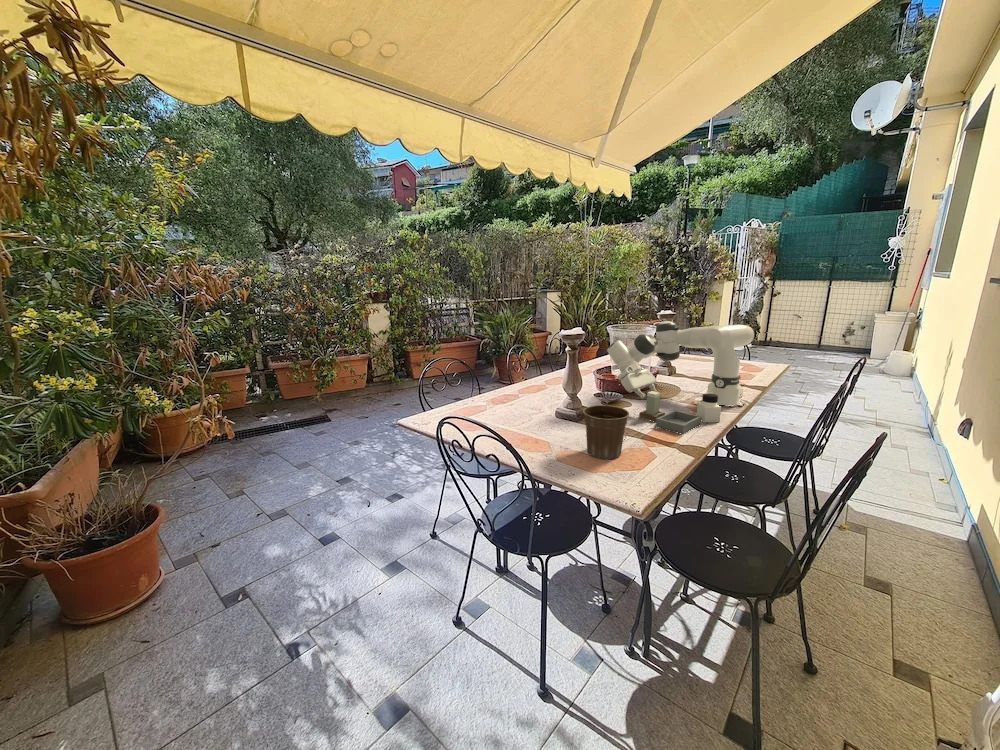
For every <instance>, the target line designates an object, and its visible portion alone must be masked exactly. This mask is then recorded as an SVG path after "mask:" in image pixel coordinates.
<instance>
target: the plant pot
mask: <svg viewBox="0 0 1000 750" xmlns="http://www.w3.org/2000/svg"><path fill="white" fill-rule="evenodd" d="M582 414H584V423H585V432H586V451H587V453H588V455H590V456H591V457H593V458H597V459H601V460H605V459H609V460H614V459H617V458H619V457H620V456H621V454H622V448H623V441H624V437H625V430H626V429H625V428H626V426H627V423H628V422H627V421H628V418H629V416H630V412H629V411H628V410H627V409H625V408H623V407H619V406H614V405H605V404H601V405H599V404H597V405H590V406H587V407H584V408H583V409H582Z"/></svg>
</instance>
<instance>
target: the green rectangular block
mask: <svg viewBox="0 0 1000 750" xmlns="http://www.w3.org/2000/svg"><path fill="white" fill-rule="evenodd" d="M660 400H661V392H658V391H657V392H654V391H651V390H650V391H647V393H646V405H645V410H646V414H650V415H654V416H656V414H658V413H659V411H660Z"/></svg>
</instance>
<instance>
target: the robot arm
mask: <svg viewBox="0 0 1000 750" xmlns="http://www.w3.org/2000/svg"><path fill="white" fill-rule="evenodd" d="M680 328H681V326H680V325H677V323H675V322H674V321H669V320H665V321H662V322H659V323H658V324H656V326H655V333H656V334H655V336H656V337H655V336H654V335H652V334H648V335H647V334H639V335H638V336H636V337H635V339H634V340H633V339H632V341H631V342H630V343H628V344H627V345H625V344H624V343H623V342H622V340H620V339H618V340H616V341H614V342H612V343H611V344H610V345H608V347H607V353H608V355H609V356H610V358H611V360H612V361H613V364H615V366H617V367H618V369H619V372H620V373H619V375H617V376H616V378H617V379H618V380H619V381H620V383H621V384H622V387H624V389H625V391H627V392H628V393H633V392H634V393H635V394H636V395H638V396H639V397H640V398H641V399H644V398H647V394H646V393H645V392H642V391H641V389H644V388H649V389H650V392H651V391H654V392H658V390H657V389H656V387H655V384H656V382H657V378H656V377H655V376H654V374H653V373H652V371H650V370H649V369H647V368H644V367H643V366H641V364H640V362H641V361H642V360H643V359H647V358H651V357H652V356H653V355H654V354H655V356H656V357H658V358H659V359H660V360H662V361H664V362H673V361H676V360H678V359H679V358H680V353H681V351H680V346H681V347H684V348H691V349H711V352H712V354H713V360H714V361H713V371H712V374H711V381H710V382H709V383H708V384H707V388H706V389H707V391H706V393H714V394H716V395H718V402H717V404H718V405H741V404H739V401H740V400H741V398H742V397H744V388H743V386H741V384H740V380H741V377H742V375H739V374H740V373H739V372H740V365H741V359H739V358H738V357H737V356H736V353H735V348H740V347H744V346H747V345H749V344H751V343H752V342H753V340H754V338H755V331H754V330H753V328H752V327H751V326H749V325H745V324H728V325H727V324H725V325H714V326H713V325H710V326H699V327H698V326H696V327H690V328H685V329H680Z"/></svg>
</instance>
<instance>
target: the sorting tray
mask: <svg viewBox="0 0 1000 750" xmlns="http://www.w3.org/2000/svg"><path fill="white" fill-rule="evenodd" d="M701 419H702V417H701V416H697V414H692V413H688V412H683V411H681V410H676V409H675V410H673V411H670V412H668V413H665V415H663V416H661V417H658V418H656V422H655V428H658V427H659V429H662V428H663V429H662V430H665V429H667V430H666V431H669V430H670V431H669V432H672V431H674V432H673V433H676V432H678V433H677V434H679V433H681V434H680V435H685V434H686V432H687V433H689V432H690V431H692V430H694V429H696V428H698V427H700V426H701V425H702V421H701ZM699 425H700V426H699ZM697 426H698V427H697ZM695 427H696V428H695ZM693 428H694V429H693ZM691 429H692V430H691ZM689 430H690V431H689ZM688 431H689V432H688ZM684 433H685V434H684Z"/></svg>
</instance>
